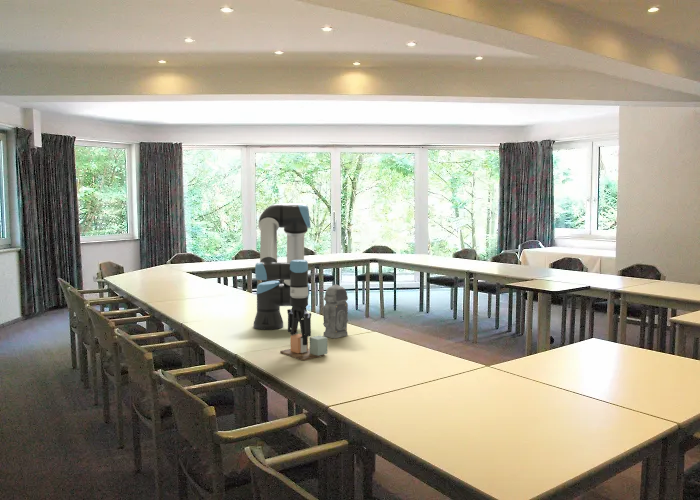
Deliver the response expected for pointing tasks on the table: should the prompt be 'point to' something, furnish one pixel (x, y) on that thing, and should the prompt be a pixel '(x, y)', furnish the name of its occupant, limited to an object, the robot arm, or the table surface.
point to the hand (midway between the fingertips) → (299, 350)
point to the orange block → (297, 343)
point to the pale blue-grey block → (318, 345)
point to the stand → (300, 354)
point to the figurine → (335, 312)
